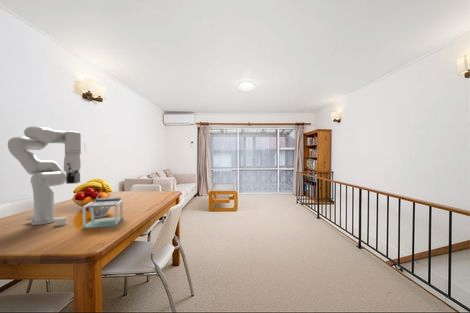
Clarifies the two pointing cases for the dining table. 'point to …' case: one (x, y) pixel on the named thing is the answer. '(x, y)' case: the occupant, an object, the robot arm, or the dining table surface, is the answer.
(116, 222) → the frame
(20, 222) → the dining table surface
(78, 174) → the basalt stone
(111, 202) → the trapdoor
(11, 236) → the dining table surface
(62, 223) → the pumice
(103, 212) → the crystal
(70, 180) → the robot arm
